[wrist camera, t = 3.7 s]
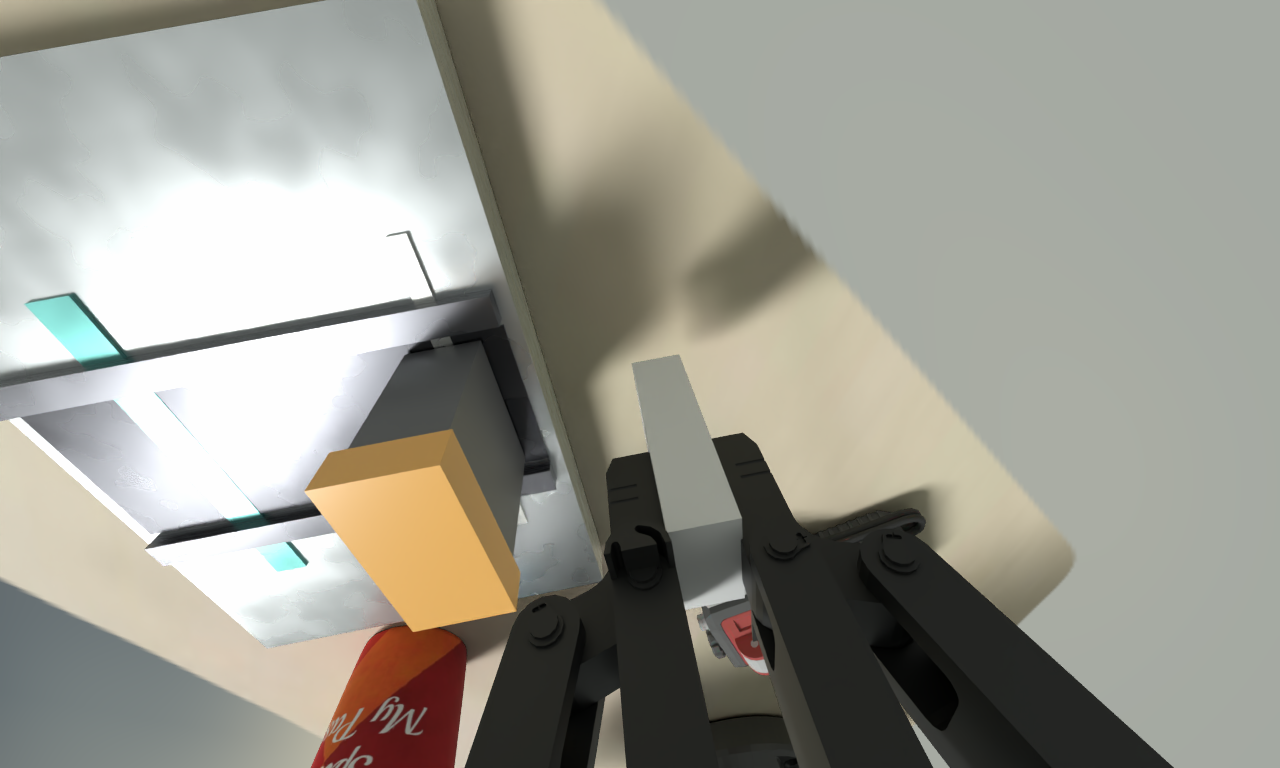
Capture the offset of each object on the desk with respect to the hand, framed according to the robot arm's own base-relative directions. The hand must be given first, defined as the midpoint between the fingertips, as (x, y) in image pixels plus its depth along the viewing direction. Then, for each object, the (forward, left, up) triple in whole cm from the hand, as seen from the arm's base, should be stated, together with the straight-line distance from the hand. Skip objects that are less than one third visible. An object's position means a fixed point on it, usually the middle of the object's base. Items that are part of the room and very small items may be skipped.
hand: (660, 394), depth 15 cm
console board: (0, +12, -3) cm, 12 cm away
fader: (0, +6, -1) cm, 7 cm away
